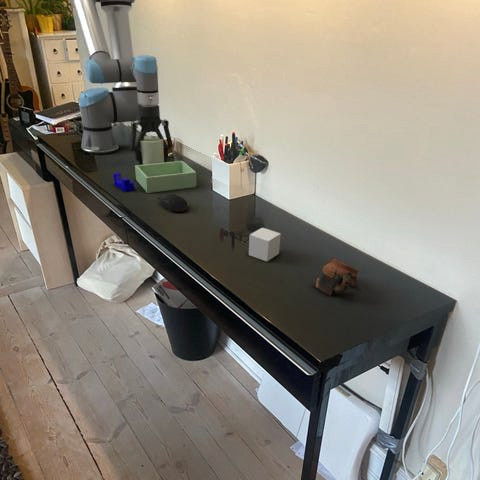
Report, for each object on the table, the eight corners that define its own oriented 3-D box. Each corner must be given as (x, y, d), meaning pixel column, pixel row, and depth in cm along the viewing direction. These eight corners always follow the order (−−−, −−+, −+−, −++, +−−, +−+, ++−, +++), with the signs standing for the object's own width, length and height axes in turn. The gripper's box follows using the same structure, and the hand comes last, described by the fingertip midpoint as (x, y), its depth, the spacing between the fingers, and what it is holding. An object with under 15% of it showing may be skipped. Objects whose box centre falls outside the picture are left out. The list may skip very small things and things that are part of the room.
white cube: (260, 247, 136) (262, 227, 133) (279, 253, 133) (280, 233, 130) (248, 255, 132) (249, 234, 128) (266, 261, 129) (268, 240, 126)
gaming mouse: (168, 196, 165) (168, 184, 163) (191, 210, 156) (191, 198, 153) (152, 199, 162) (151, 188, 160) (174, 214, 152) (174, 202, 150)
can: (167, 166, 191) (165, 135, 184) (162, 174, 184) (160, 141, 177) (144, 165, 192) (141, 133, 185) (138, 172, 184) (135, 139, 177)
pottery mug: (307, 282, 122) (322, 252, 120) (337, 295, 125) (353, 266, 123) (325, 295, 111) (342, 263, 109) (358, 310, 114) (375, 278, 112)
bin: (136, 180, 177) (134, 165, 174) (183, 174, 184) (182, 160, 181) (147, 193, 167) (146, 177, 164) (196, 186, 174) (196, 172, 171)
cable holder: (134, 189, 169) (133, 178, 167) (125, 191, 167) (124, 180, 165) (123, 183, 174) (122, 172, 172) (114, 185, 172) (113, 174, 170)
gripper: (121, 108, 168) (127, 173, 181) (180, 105, 176) (182, 167, 189) (116, 104, 173) (122, 167, 186) (173, 101, 181) (176, 162, 194)
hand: (152, 167), depth 187 cm, fingers closed on can, 9 cm apart
